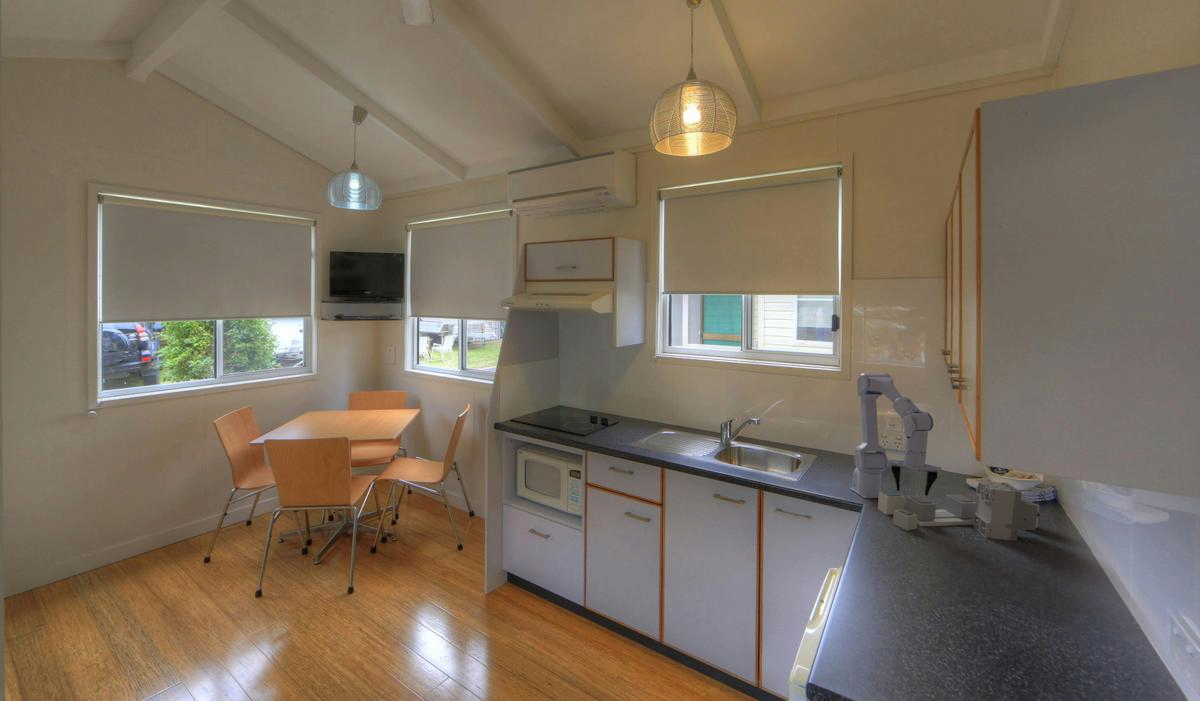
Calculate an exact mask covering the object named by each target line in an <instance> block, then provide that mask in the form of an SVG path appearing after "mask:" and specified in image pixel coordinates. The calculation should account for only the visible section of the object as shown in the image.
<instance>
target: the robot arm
mask: <svg viewBox="0 0 1200 701" xmlns="http://www.w3.org/2000/svg"><path fill="white" fill-rule="evenodd" d="M856 387H857V388H856V390H857V396H858V397H859V405H860V422H861V439H862V440H861V441H862V442H861V444H859V446H856V447H855V448H854V456H853V463H854V466H855V469H854V470H853V472H852V487H849V489H850V490H851V491H852V492H854V493H856V494H857V495H859V496H860V497H862V498H864V499H879V492H881V486H882V484H881V483H882V473H884V470H886V469H887V467H888V468H891V472H892V474H893V478H894V479H895V485H896V492H897V491H898V492H900V489H901V488H900V487H901V486H900V485H901V484H900V480H901V469H904V470H912V471H917V472H923V473H926V482H925V488H924V495H925V496H927V497H928V496H929V492H930V489H931V488H932V486H933V485H934V483H935V482H936V481H937V478H938V475H939V476H941V475H942V474H943V473H942V472H943V468H942V467H941V466H936V465H932V464H927V463H926V461H927V460H926V459H927V446H928V439H929V438H928V435H929V432H930V431H932V430H933V428H934V419H933V418H934V417H932V415H931V414H930V412H925V411H923V410H920V409H919V407H918V406H917V405H916V404H915V403H914V402H913V401H912V398H910V397H906V396H905V397H903V395H902V394H901V393H900V391H899V390H898V389H897V387H896V386H895V384H894V378H893V377H892V376H891V375H890V374H889V373H865V372H864V373H861V374H859V376H858V377H857V379H856ZM883 395H884V396H885V397H886V398H887V399H888V400H889V401H891V403H892V408H893V410H894V412H896V413H897V415H898V416H899V417H900V418H901V419H902V424H903V425H902V426H903V428H904V432H903V433H904V435H905V446H904V448H905V449H904V459H903V460H899V459H898V460H897V459H889V458H888V456H887V451H886V449H885V447H883V446H882V445H881V444H880V443H879V429H878V411H877V410H878V408H877V407H878V406H877V400H878V399H879V397H881V396H883Z"/></svg>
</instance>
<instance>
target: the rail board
mask: <svg viewBox="0 0 1200 701" xmlns="http://www.w3.org/2000/svg"><path fill="white" fill-rule="evenodd" d="M944 498H945V499H944V500H945V502H944V509H937V503H935V502H933V501H930V500H929V499H927V498H925V497H923V496H922V495H907V496H905V503H904V509H905V510H907V511H910V512H912V513H914V514H916V515H918V516H917V526H919V527H936V526H937V527H938V526H939V527H940V526H941V527H942V526H965V525H969V526H970V525H974V513H977V511H978V503H977V502H976V501H974V500H971V499H970V498H968V497H966V496H963V495H961V494H945V497H944ZM976 521H978V519H976Z"/></svg>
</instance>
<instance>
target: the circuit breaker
mask: <svg viewBox="0 0 1200 701" xmlns="http://www.w3.org/2000/svg"><path fill="white" fill-rule="evenodd" d="M977 483H978V484H977V486H976V495H977V496H978V505H977V512H976V513H974V524H973V526H972V527H973V529H974V530H976V531H977V532H978V533H979V534H980V535H982V536H983V537H984V538H985V539H994V540H1004V541H1012V542H1013V541H1014V542H1015V541H1018V532H1019V530H1024V529H1027V530H1029V531H1035V530H1036V528H1035V527H1036V518H1037V516H1039V517H1040V512H1039V513H1038V512H1037V508H1038V506H1037V505H1038V504H1037V503H1034V502H1033V501H1032V500H1030V499H1028V498H1026V497H1025V496H1023V494H1022V491H1021V490H1019V489H1017V488H1016V487H1014V486H1013V485H1012V484H1010V483H1008V482H1003V481H1002V482H999V481H988V480H987V481H986V480H978V482H977ZM1036 504H1037V505H1036ZM976 519H978V521H976ZM1027 530H1026V531H1027Z"/></svg>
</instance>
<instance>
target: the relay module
mask: <svg viewBox="0 0 1200 701" xmlns="http://www.w3.org/2000/svg"><path fill="white" fill-rule="evenodd" d="M877 499H878V500H877V501H878V504H877V510H878V511H879V512H882V513H883V514H885V515H894V510H899V509H905V501H906V496H904V495H903V494H901V493H899V492H897V491H880V492H879V498H877Z"/></svg>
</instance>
